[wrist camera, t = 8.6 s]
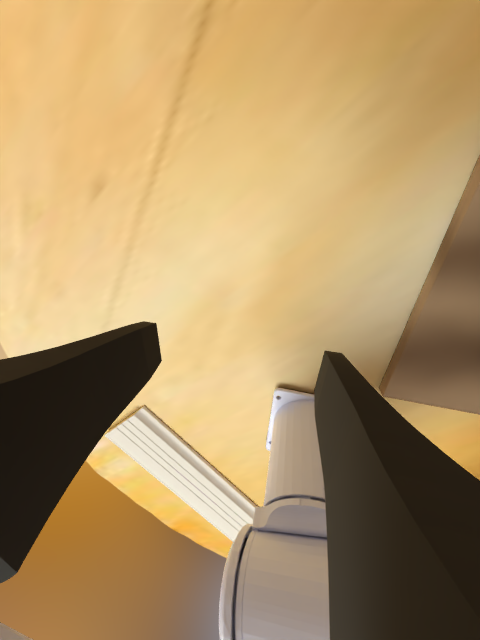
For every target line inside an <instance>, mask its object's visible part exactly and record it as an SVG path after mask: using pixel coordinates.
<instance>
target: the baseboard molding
mask: <svg viewBox="0 0 480 640" xmlns="http://www.w3.org/2000/svg"><path fill="white" fill-rule="evenodd" d="M104 436H106V437H107V438H108V439H109V440H110V441H112V442H113V443H114V444H115V445H116V446H118V447H119V448H120V449H121V450H123V451H124V452H125V453H126V454H127V455H129V456H130V457H131V458H132V459H133V460H135V461H136V462H137V463H138V464H139V465H141V466H142V467H143V468H144V469H146V470H147V471H148V472H149V473H150V474H152V475H153V476H154V477H155V478H156V479H158V480H159V481H160V482H161V483H162V484H164V485H165V486H166V487H167V488H169V489H170V490H171V491H172V492H173V493H175V494H176V495H177V496H178V497H179V498H181V499H182V500H183V501H184V502H185V503H187V504H188V505H189V506H190V507H191V508H193V509H194V510H195V511H196V512H198V513H199V514H200V515H201V516H202V517H204V518H205V519H206V520H207V521H208V522H210V523H211V524H212V525H213V526H214V527H216V528H217V529H218V530H219V531H221V532H222V533H223V534H224V535H225V536H227V537H228V538H229V539H230V540H231V541H233V542H234V540H235V538H236V537H237V535H238V533H239V531H240V530H241V528H242V527H243V526H244V525H246V524H253V518H254V511H255V507H257V506H256V505H255V504H254V503H253V502H252V501H251V500H250V499H248V498H247V497H246V496H245V495H244V494H243V493H242V492H241V491H239V490H238V489H237V488H236V487H235V486H234V485H233V484H232V483H230V482H229V481H228V480H227V479H226V478H225V477H224V476H223V475H221V474H220V473H219V472H218V471H217V470H216V469H215V468H214V467H212V466H211V465H210V464H209V463H208V462H207V461H206V460H205V459H204V458H202V457H201V456H200V455H199V454H198V453H197V452H196V451H195V450H193V449H192V448H191V447H190V446H189V445H188V444H187V443H186V442H184V441H183V440H182V439H181V438H180V437H179V436H178V435H177V434H175V433H174V432H173V431H172V430H171V429H170V428H169V427H168V426H166V425H165V424H164V423H163V422H162V421H161V420H160V419H159V418H157V417H156V416H155V415H154V414H153V413H152V412H151V411H150V410H148V409H147V408H146V407H145V406H143V407H141V408H140V409H138V410H137V411H136V412H134V413H133V414H131V415H130V416H129V417H127V418H126V419H124V420H123V421H121V422H120V423H119V424H117V425H116V426H114V427H113V428H111V429H110V430H109V431H108V432H107V433H106V434H105V435H104Z"/></svg>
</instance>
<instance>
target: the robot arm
mask: <svg viewBox="0 0 480 640" xmlns="http://www.w3.org/2000/svg"><path fill="white" fill-rule="evenodd" d="M161 361H162V360H161V353H160V346H159V339H158V332H157V325H156V323H150V322H139V323H135V324H131V325H128V326H124V327H121V328H118V329H115V330H112V331H108V332H105V333H102V334H99V335H96V336H93V337H89V338H86V339H83V340H79V341H76V342H72V343H69V344H66V345H62V346H59V347H55V348H51V349H47V350H43V351H39V352H35V353H30V354H26V355H22V356H17V357H12V358H7V359H2V360H0V583H2V582H4V581H6V580H8V579H10V578H11V577H12V576H14V575H15V574H16V573H17V572H18V570H19V569H20V567H21V565H22V563H23V561H24V559H25V558H26V556H27V554H28V552H29V551H30V549H31V547H32V545H33V544H34V542H35V540H36V538H37V537H38V535H39V533H40V531H41V530H42V528H43V526H44V525H45V523H46V521H47V520H48V518H49V516H50V515H51V513H52V511H53V510H54V508H55V507H56V505H57V503H58V502H59V500H60V499H61V497H62V495H63V494H64V492H65V491H66V489H67V487H68V486H69V484H70V483H71V481H72V480H73V478H74V477H75V475H76V474H77V472H78V471H79V469H80V468H81V466H82V465H83V463H84V462H85V460H86V459H87V457H88V456H89V454H90V453H91V452H92V450H93V449H94V447H95V446H96V444H97V443H98V442H99V440H100V439H101V437H102V436H103V435H104V433H105V432H106V431H107V429H108V428H109V427H110V426H111V424H112V423H113V422H114V421H115V420H116V418H117V417H118V416H119V415H120V414H121V413H122V411H123V410H124V409H125V408H126V407H127V406H128V404H129V403H130V402H131V401H132V400H133V399H134V398H135V396H136V395H137V394H138V393H139V392H140V391H141V389H142V388H143V387H144V386H145V385H146V383H147V382H148V381H149V380H150V378H151V377H152V375H153V374H154V372H155V371H156V369H157V368H158V366H159V364H160V363H161ZM277 396H280V397H277ZM266 449H267V450H269V451H270V457H269V465H268V474H267V482H266V491H265V499H264V507H255V511H254V518H253V524H246V525H244V526H243V527H242V528H241V530H240V531H239V533H238V535H237V537H236V538H235V540H234V542H233V544H232V546H231V548H230V551H229V554H228V557H227V560H226V564H225V568H224V573H223V579H222V585H221V593H220V605H219V633H220V640H480V481H479V480H478V479H477V478H476V477H474V476H473V475H472V474H470V473H469V472H468V471H466V470H465V469H464V468H462V467H461V466H460V465H459V464H457V463H456V462H455V461H454V460H452V459H451V458H450V457H449V456H447V455H446V454H445V453H444V452H443V451H441V450H440V449H439V448H438V447H437V446H435V445H434V444H433V443H432V442H431V441H430V440H428V439H427V438H426V437H425V436H424V435H422V434H421V433H420V432H419V431H418V430H417V429H415V428H414V427H413V426H412V425H411V424H410V423H409V422H408V421H407V420H406V419H404V418H403V417H402V416H401V415H400V414H399V413H398V412H397V411H396V410H395V409H394V408H393V407H392V406H391V405H390V404H389V403H388V402H387V401H386V400H385V399H384V398H383V397H382V396H381V395H380V394H379V393H378V392H377V391H376V390H375V389H374V388H373V387H372V386H371V385H370V384H369V383H368V382H367V381H366V379H365V378H364V377H363V376H362V375H361V374H360V373H359V372H358V371H357V370H356V368H355V367H354V366H353V365H352V364H351V363H350V362H349V361H348V359H347V358H346V357H345V356H344V355H343V354H342V353H337V352H331V351H325V352H324V355H323V359H322V363H321V367H320V371H319V375H318V379H317V382H316V386H315V390H314V395H313V394H308V393H303V392H298V391H293V390H288V389H283V388H276V389H275V390H274V396H273V402H272V409H271V416H270V422H269V429H268V435H267V442H266ZM0 640H33V639H31V638H29V637H27V636H25V635H23V634H21V633H19V632H18V631H16V630H14V629H12V628H10V627H8V626H6V625H4V624H2V623H0Z"/></svg>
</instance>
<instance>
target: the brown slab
mask: <svg viewBox="0 0 480 640" xmlns="http://www.w3.org/2000/svg"><path fill="white" fill-rule="evenodd" d="M379 389H380V391H381V393H382V395H383V396H384V397H390V398H395V399H400V400H405V401H411V402H416V403H421V404H427V405H432V406H437V407H442V408H448V409H453V410H458V411H463V412H469V413H474V414H479V415H480V156H479V158H478V160H477V163H476V165H475V167H474V170H473V172H472V174H471V177H470V179H469V181H468V184H467V186H466V188H465V191H464V193H463V195H462V197H461V200H460V202H459V204H458V207H457V209H456V211H455V214H454V216H453V218H452V221H451V223H450V225H449V228H448V230H447V232H446V234H445V237H444V239H443V241H442V244H441V246H440V248H439V251H438V253H437V255H436V258H435V260H434V262H433V265H432V267H431V269H430V271H429V274H428V276H427V278H426V281H425V283H424V285H423V288H422V290H421V292H420V295H419V297H418V299H417V302H416V304H415V306H414V308H413V311H412V313H411V315H410V318H409V320H408V322H407V325H406V327H405V329H404V332H403V334H402V336H401V339H400V341H399V343H398V345H397V348H396V350H395V352H394V355H393V357H392V359H391V362H390V364H389V366H388V369H387V371H386V373H385V376H384V378H383V380H382V382H381V385H380V387H379Z"/></svg>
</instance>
